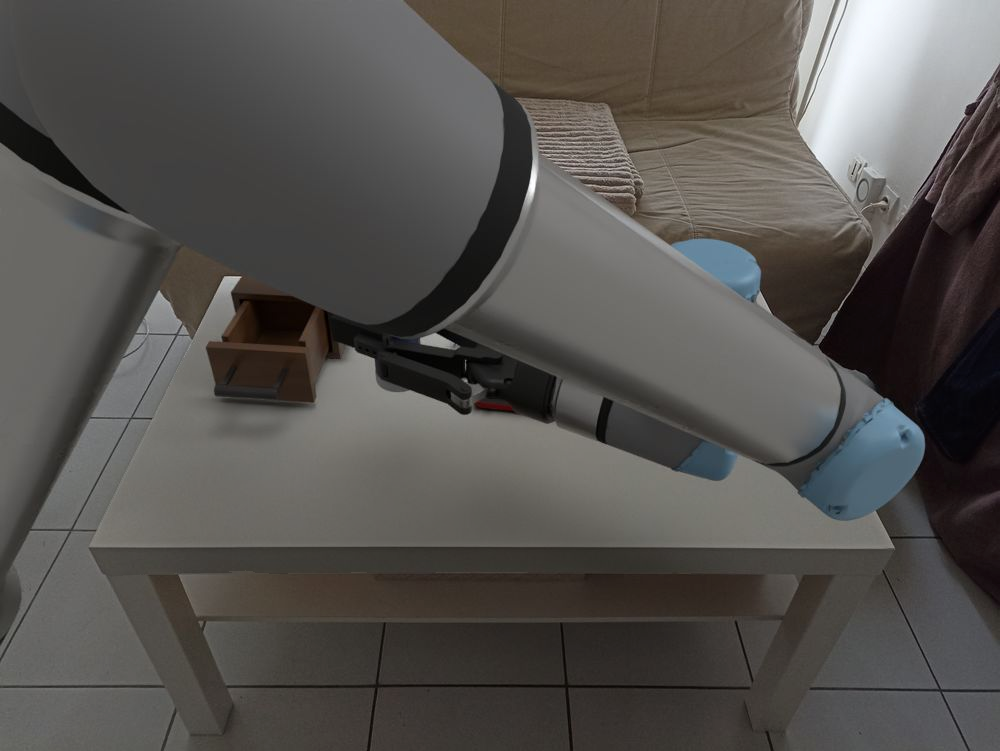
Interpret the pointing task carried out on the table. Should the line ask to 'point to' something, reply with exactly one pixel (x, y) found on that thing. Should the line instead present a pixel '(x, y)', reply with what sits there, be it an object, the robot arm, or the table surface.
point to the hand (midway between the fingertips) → (350, 314)
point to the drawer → (271, 351)
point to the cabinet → (261, 291)
